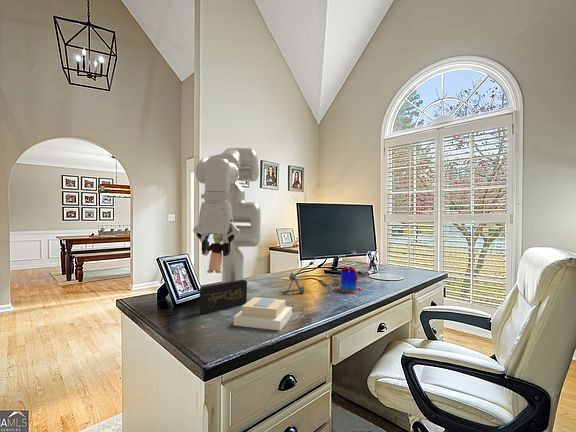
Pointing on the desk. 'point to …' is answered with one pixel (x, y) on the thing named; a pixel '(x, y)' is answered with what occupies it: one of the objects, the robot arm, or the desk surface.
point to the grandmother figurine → (215, 254)
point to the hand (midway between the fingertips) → (215, 254)
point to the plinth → (263, 320)
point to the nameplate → (222, 296)
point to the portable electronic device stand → (292, 277)
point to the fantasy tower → (348, 280)
